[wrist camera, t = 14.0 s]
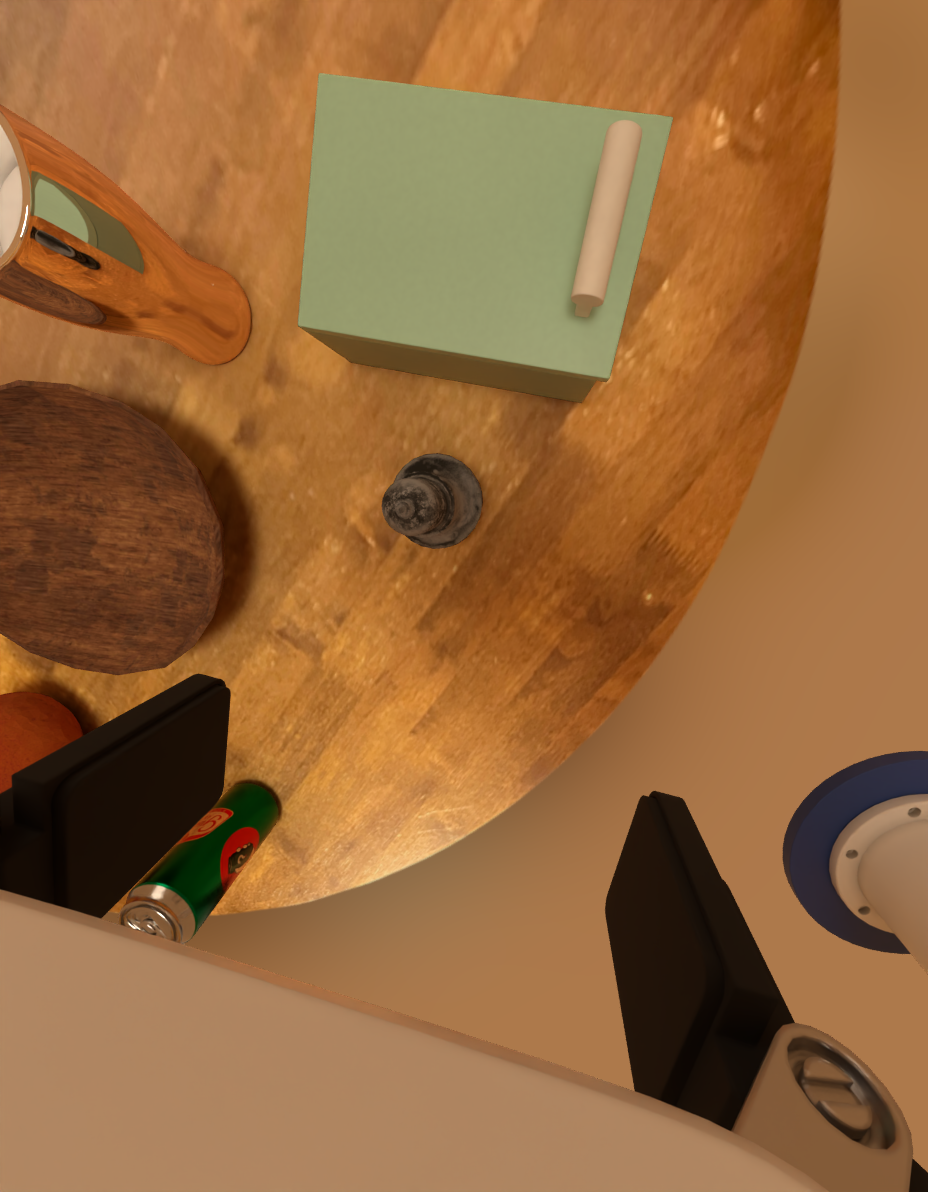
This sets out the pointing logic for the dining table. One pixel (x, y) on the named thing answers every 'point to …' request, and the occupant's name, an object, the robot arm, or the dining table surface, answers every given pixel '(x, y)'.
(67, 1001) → the robot arm
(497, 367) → the box
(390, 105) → the lunchbox lid
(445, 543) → the chess piece
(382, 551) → the dining table surface
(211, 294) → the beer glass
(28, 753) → the fruit
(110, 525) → the bowl
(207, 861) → the soda can
